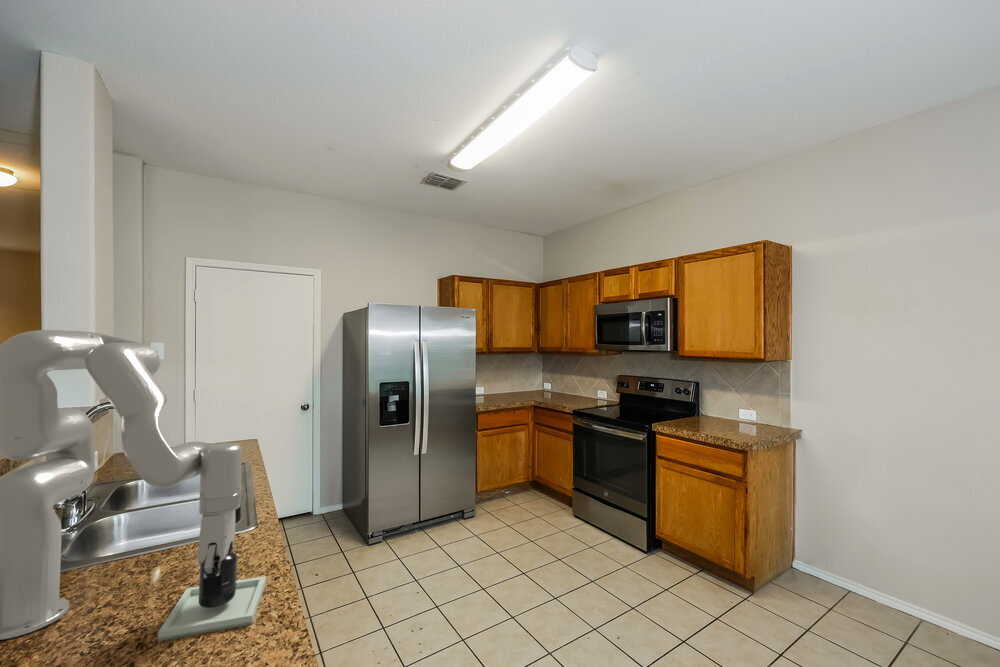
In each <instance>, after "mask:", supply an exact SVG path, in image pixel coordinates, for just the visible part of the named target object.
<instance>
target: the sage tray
mask: <svg viewBox="0 0 1000 667" xmlns="http://www.w3.org/2000/svg"><path fill="white" fill-rule="evenodd" d="M266 585H267V575H265V576H259V577H251V578H245V579H244V578H243V579H238V580H237V579H236V593H235V596H234V598H233V599H232V600H231V601H229V602H228V603H226V604H224V605H221V606H218V607H213V608H204V607H202V606H200V605H199V603H198V596H199V585H197V586H192V587H187V588H186V589H185V591H184V592H183V594H182V595H181V597H180V598H179V600H178V602H177V603H176V604H175V606H174V607H173V609H172V610H171V611H170V613H169V615H168V616H167V618H166V620H165V621H164V622H163V624H162V625H161V627H160V628H159V630H158V631H157V642H163V641H169V640H173V639H178V638H186V637H190V636H195V635H201V634H208V633H211V632H218V631H224V630H229V629H234V628H238V627H244V626H245V627H246V626H251V625H253V624H254V621H255V617H256V614H257V611H258V608H259V605H260V603H261V599H262V596H263V594H264V590H265V588H266Z"/></svg>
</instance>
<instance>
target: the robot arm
mask: <svg viewBox="0 0 1000 667" xmlns="http://www.w3.org/2000/svg"><path fill="white" fill-rule="evenodd" d="M160 366H161V358H160V355H159V354H158V352H157V351H156V350H155V349H154V348H153V347H152V346H150V345H148V344H146V343H143V342H138V341H134V340H129V339H125V338H122V337H121V338H120V337H117V336H116V337H115V336H112V335H108V334H103V333H99V332H92V331H79V330H77V331H76V330H64V329H63V330H60V329H40V330H39V329H37V330H30V331H25V332H21V333H18V334H15V335H13V336H11V337H9V338H8V339H6V340H5V341H4V342H2V343H1V344H0V453H1V455H2V456H3V457H4V458H6V459H8V460H11V461H26V460H27V461H28V460H32V459H37V458H41V457H44V456H45V461H41V462H36V463H33V464H30V465H25V466H23V467H19V468H16V469H14V470H12V471H9V472H7V473H5V474H4V475H2V476H1V477H0V641H2V640H9V639H12V638H17V637H20V636H24V635H26V634H29V633H32V632H35V631H37V630H40V629H42V628H44V627H47V626H48V625H50V624H53V623H54V622H56V621H58V620H59V619H60V618H62V617H63V616H64V615H65V614H66V613H68V611H69V609H70V601H69V600H68V599H65V598H62V597H60V591H61V590H60V587H61V586H60V585H61V564H62V563H61V560H62V556H61V555H62V533H63V532H62V522H61V520H60V518H59V516H58V514H57V513H56V511H55V510H54V506H55V505H57V504H59V503H61V502H63V501H66V500H68V499H71V498H73V497H76V496H78V495H79V494H81V493H83V492H84V491H86V490H87V489H88V488H89V487H90V486H91V485H92V483H93V481H94V476H95V470H96V460H95V456H96V455H95V430H94V425H93V422H92V421H91V419H90V417H89V416H88V415H87V414H86V413H85V412H84V411H82V410H80V409H77V408H72V407H60V408H59V404H58V391H57V387H56V385H55V383H54V381H53V380H52V379H51V377H50V376H49V375H48V373H49V372H51V371H68V370H85V369H86V370H87V372H88V374H89V375H90V376H91V379H93V381H94V382H95V383H96V385H97V387H98V388H99V389H100V390H101V392H102V393H103V395H104V396H105V398H106V399H107V400H108V401H109V403H110V404H111V405H112V407H113V408H114V410H115V411H116V413H117V414H118V416H119V417H120V419H121V430H120V434H121V435H120V436H121V443H122V449H123V450H122V451H123V453H124V455H125V457H126V459H127V461H128V462H129V464H130V465H131V466H132V467H133V469H134V471H135V472H136V473H137V474H138V475H139V476H140V478H141V479H142V480H143V481H144V482H145V483H146V484H148V485H149V486H151V487H153V488H156V489H162V490H163V489H169V488H173V487H175V486H177V485H179V484H181V483H184V482H186V481H187V480H189V479H192V478H194V477H197V476H199V506H198V508H199V509H198V514H200V515H202V518H201V521H200V528H199V539H198V550H197V564H198V565H200V564H202V563H204V561H205V560H206V562H205V566H204V569H205V571H204V589H203V596H204V597H207V596H214V595H220V594H221V592H222V574H221V567H222V561H223V560H224V559H225V558H226V556H227V555H228V551H229V547H230V543H231V542H232V541H233V545H234V544H235V539H236V537H235V536H236V510H237V509H240V507H241V492H242V463H243V462H242V456H243V455H242V454H243V451H242V450H243V448H242V446H240V444H238V443H234V442H221V443H210V442H205V441H204V442H203V441H188V442H184V443H181V444H178V445H175V446H173V447H170V445H169V444H168V443H167V441H166V440H165V438H164V437H163V435H162V433H161V431H160V428H159V423H158V422H159V415H160V414H161V413H160V412H161V411H162V409H163V407H164V406H165V405H166V404H167V402H168V397H167V394H166V393H165V391H164V390H163V389H162V387H161V386H160V385H159V383H158V381H157V380H156V379H155V378H154V375H155V374H156V373H157V372H158V370H159V368H160ZM219 556H220V557H219ZM215 557H219V559H218V560H214V558H215ZM214 563H218V566H217V568H216V566H215V567H214Z"/></svg>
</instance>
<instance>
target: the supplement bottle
mask: <svg viewBox="0 0 1000 667" xmlns="http://www.w3.org/2000/svg"><path fill="white" fill-rule="evenodd" d="M233 550H234V544H233V541H232V542H231V543H230V547H229V551H228V555H227V556H226V558H225V559H224V560H223V561H222V567H221V574H222V592H221V594H220V595H214V596H207V597H204V596H203V589H204V571H205V569H204V566H205V562H206V560H205V561H204V563H202V564H199V577H198V578H199V579H198V580H199V581H198V586H199V596H198V603H199V605H200V606H202V607H204V608H213V607H218V606H221V605H224V604H226V603H228V602H229V601H231V600H232V599H233V598H234V596H235V593H236V581H237V575H238V573H237V572H238V554H237V553H236V552H235V551H233ZM219 557H220V556H219ZM219 557H215V558H214V560H218V559H219ZM215 566H216V568H217V566H218V563H214V567H215Z"/></svg>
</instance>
